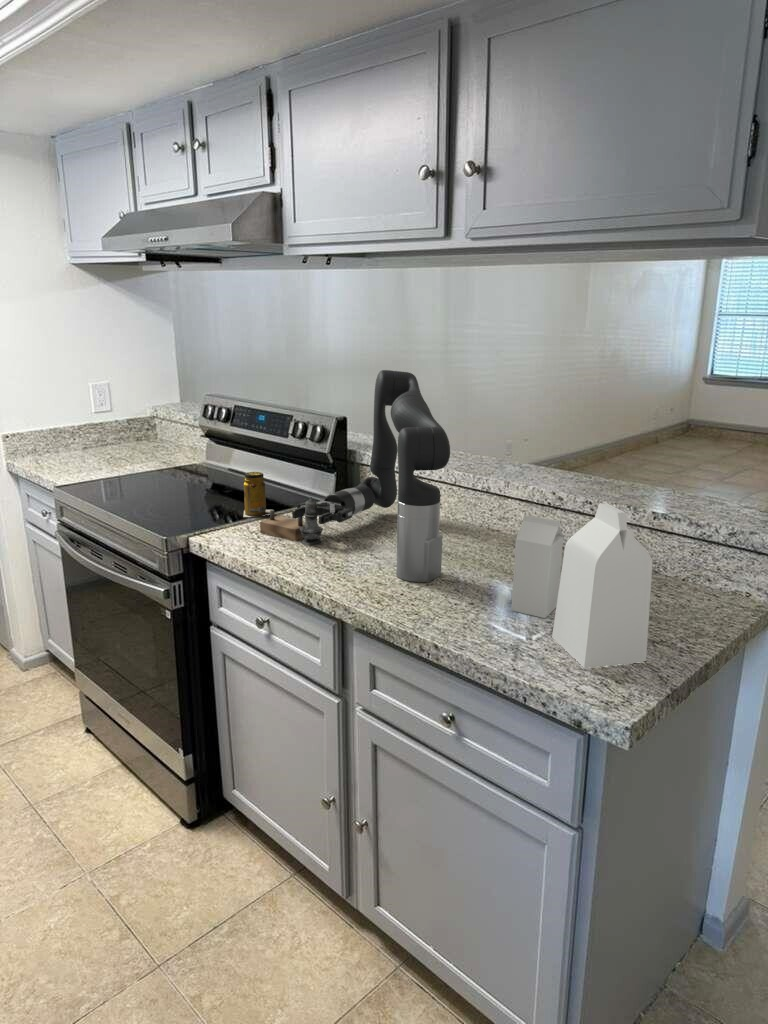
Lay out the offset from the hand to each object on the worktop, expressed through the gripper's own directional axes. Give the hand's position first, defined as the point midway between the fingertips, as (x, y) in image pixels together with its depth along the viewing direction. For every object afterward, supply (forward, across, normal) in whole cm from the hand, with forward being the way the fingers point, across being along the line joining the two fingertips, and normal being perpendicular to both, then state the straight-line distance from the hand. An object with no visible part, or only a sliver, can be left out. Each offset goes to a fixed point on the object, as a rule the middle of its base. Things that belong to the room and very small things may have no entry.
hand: (306, 517), depth 179 cm
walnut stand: (-4, -10, +7) cm, 13 cm away
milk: (+17, +79, +7) cm, 81 cm away
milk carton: (+6, +63, +7) cm, 64 cm away
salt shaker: (-2, 0, +7) cm, 7 cm away
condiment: (-14, -29, +7) cm, 33 cm away
